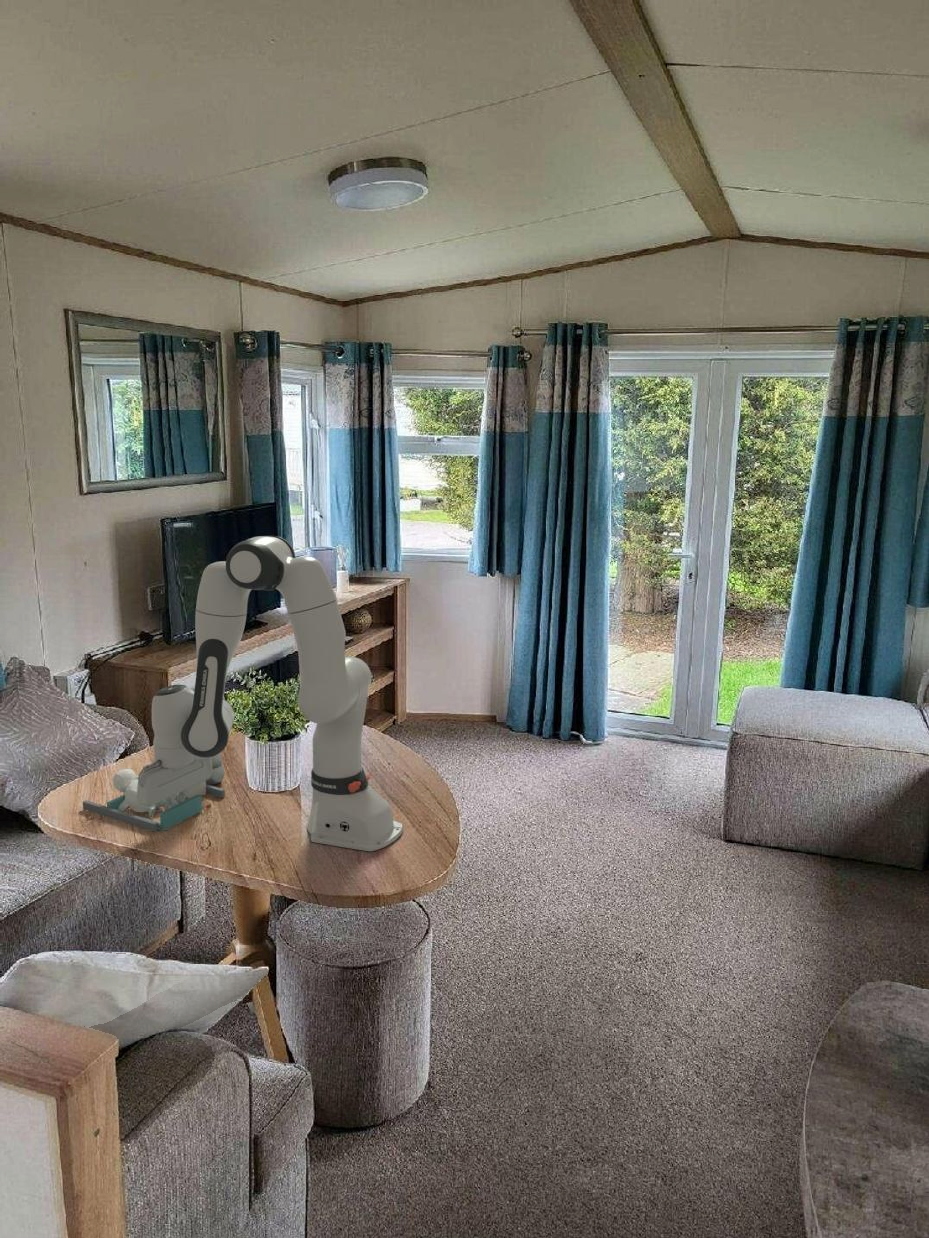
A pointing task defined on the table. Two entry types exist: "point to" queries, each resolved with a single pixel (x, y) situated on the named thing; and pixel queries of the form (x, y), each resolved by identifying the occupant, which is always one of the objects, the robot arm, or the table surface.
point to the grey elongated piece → (196, 789)
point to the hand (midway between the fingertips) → (177, 809)
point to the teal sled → (170, 810)
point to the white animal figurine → (133, 793)
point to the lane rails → (136, 819)
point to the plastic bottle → (216, 770)
